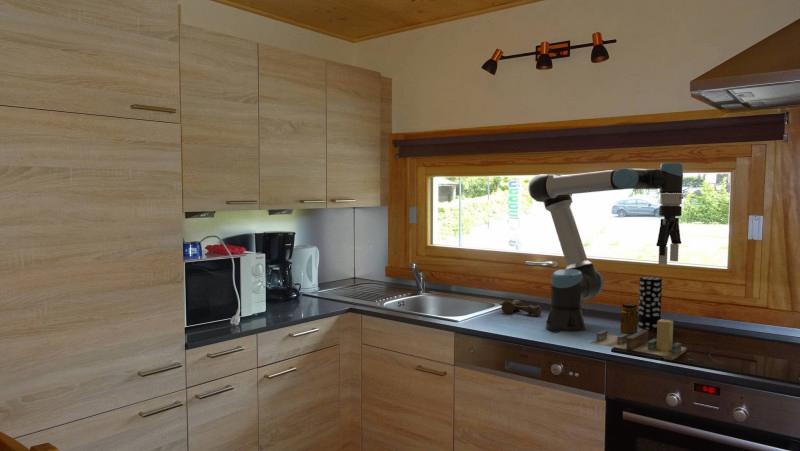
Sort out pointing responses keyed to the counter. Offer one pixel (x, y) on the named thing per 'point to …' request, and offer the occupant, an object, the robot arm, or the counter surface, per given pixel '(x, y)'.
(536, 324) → the counter surface
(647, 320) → the white-spotted black cylinder
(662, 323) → the stop bar
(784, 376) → the counter surface
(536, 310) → the kendama
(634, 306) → the condiment
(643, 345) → the lock plate
